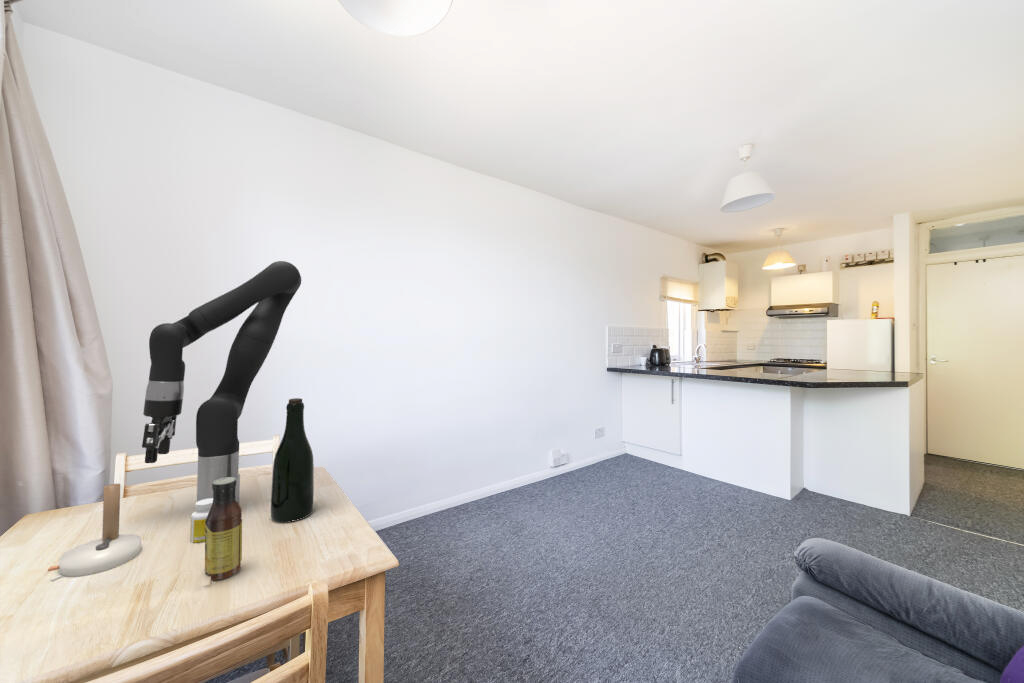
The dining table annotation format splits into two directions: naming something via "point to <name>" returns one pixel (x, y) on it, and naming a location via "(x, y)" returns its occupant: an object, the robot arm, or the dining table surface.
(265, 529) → the dining table surface
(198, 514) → the supplement bottle
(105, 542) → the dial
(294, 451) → the dark green wine bottle
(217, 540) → the sauce bottle
